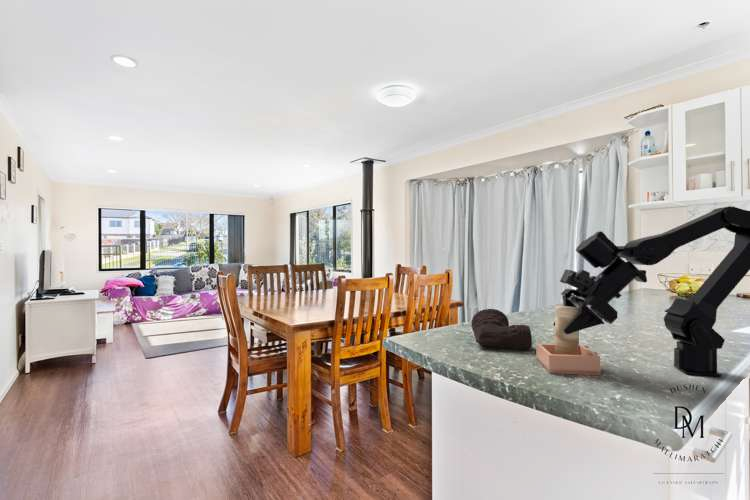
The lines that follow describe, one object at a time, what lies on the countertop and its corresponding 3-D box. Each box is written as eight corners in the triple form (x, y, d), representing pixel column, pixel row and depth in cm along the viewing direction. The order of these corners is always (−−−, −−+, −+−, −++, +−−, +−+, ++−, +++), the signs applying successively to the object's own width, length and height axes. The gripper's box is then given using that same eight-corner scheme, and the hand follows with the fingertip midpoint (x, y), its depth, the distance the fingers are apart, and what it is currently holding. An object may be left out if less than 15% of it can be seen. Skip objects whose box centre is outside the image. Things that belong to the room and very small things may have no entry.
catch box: (581, 361, 94) (581, 344, 94) (600, 375, 84) (600, 356, 84) (536, 359, 96) (536, 343, 96) (549, 373, 85) (549, 355, 85)
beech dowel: (581, 363, 90) (582, 307, 90) (573, 367, 86) (574, 309, 86) (559, 358, 93) (560, 305, 93) (551, 362, 90) (552, 307, 90)
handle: (567, 344, 109) (586, 344, 108) (567, 347, 109) (587, 347, 108) (576, 351, 102) (597, 351, 101) (576, 354, 102) (597, 355, 101)
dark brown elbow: (532, 325, 102) (521, 307, 116) (474, 327, 104) (470, 309, 119) (533, 359, 103) (522, 337, 118) (476, 360, 106) (472, 338, 120)
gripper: (569, 256, 99) (524, 299, 100) (600, 258, 80) (545, 310, 82) (602, 287, 97) (556, 330, 99) (642, 296, 79) (585, 348, 80)
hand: (559, 329), depth 90 cm, fingers open, 7 cm apart
